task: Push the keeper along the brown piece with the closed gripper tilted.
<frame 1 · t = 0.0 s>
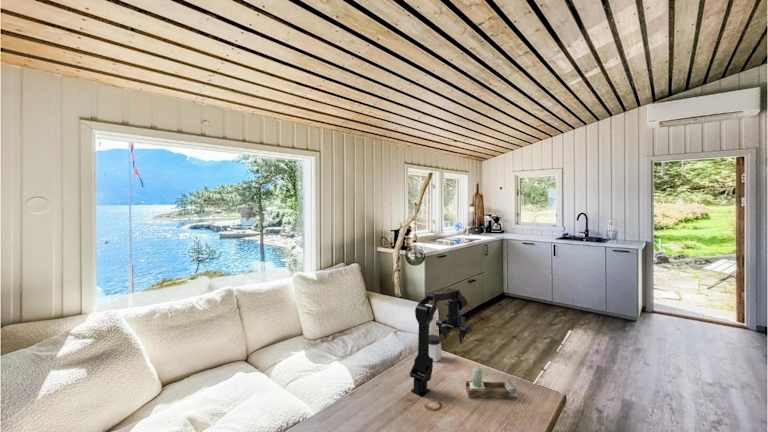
hand: (453, 341, 169), 15 cm above the table, tool pointing down, fingers open, 9 cm apart
brown piece: (490, 393, 147), on the table
keeper: (477, 379, 147), point 6 cm above the table, slide at 0.0 cm
jar: (433, 358, 182), on the table
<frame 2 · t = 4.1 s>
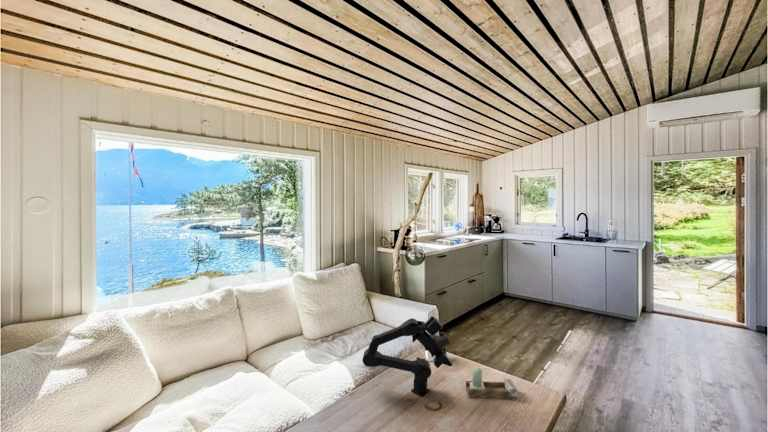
hand: (451, 365, 148), 13 cm above the table, tool tilted 45°, fingers closed
nothing on the table moved.
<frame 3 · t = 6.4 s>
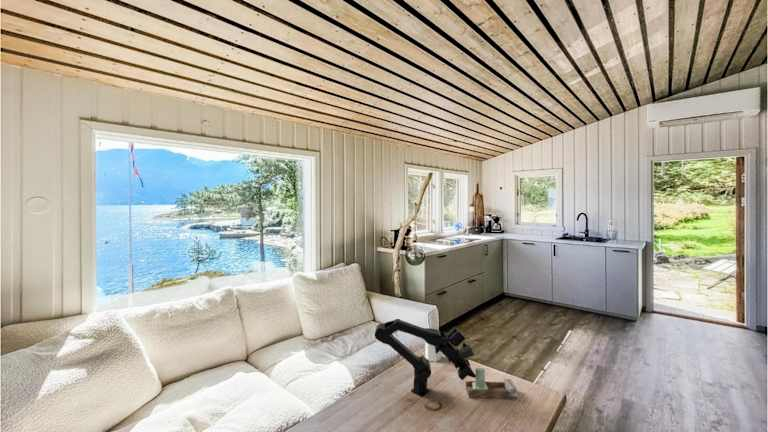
hand: (475, 376, 147), 8 cm above the table, tool tilted 45°, fingers closed, pressing on keeper
keeper: (480, 379, 147), point 6 cm above the table, slide at 1.3 cm, touching gripper
everything else where it was.
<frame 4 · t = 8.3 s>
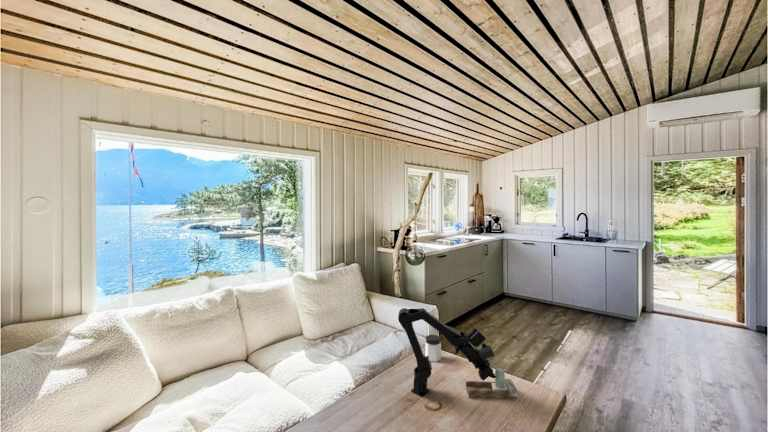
hand: (494, 377, 146), 8 cm above the table, tool tilted 45°, fingers closed, pressing on keeper
keeper: (499, 380, 146), point 6 cm above the table, slide at 10.2 cm, touching gripper
everything else where it was.
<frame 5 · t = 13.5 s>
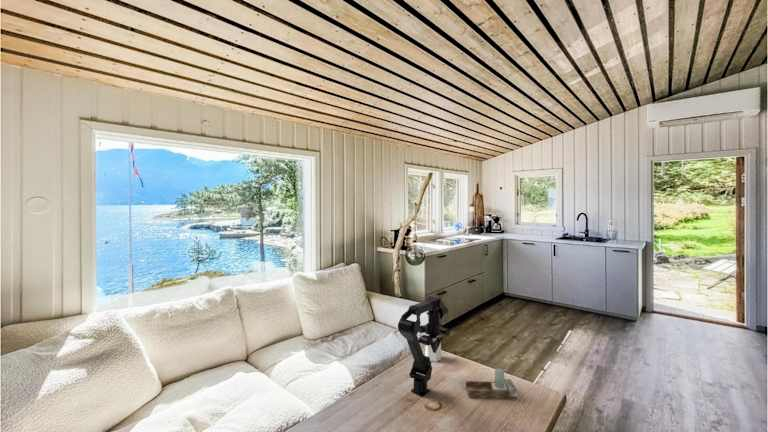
hand: (434, 352, 160), 13 cm above the table, tool pointing down, fingers closed
keeper: (499, 380, 146), point 6 cm above the table, slide at 10.0 cm
everything else where it was.
at the end: keeper slide at 10.0 cm; the gripper is holding nothing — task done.
